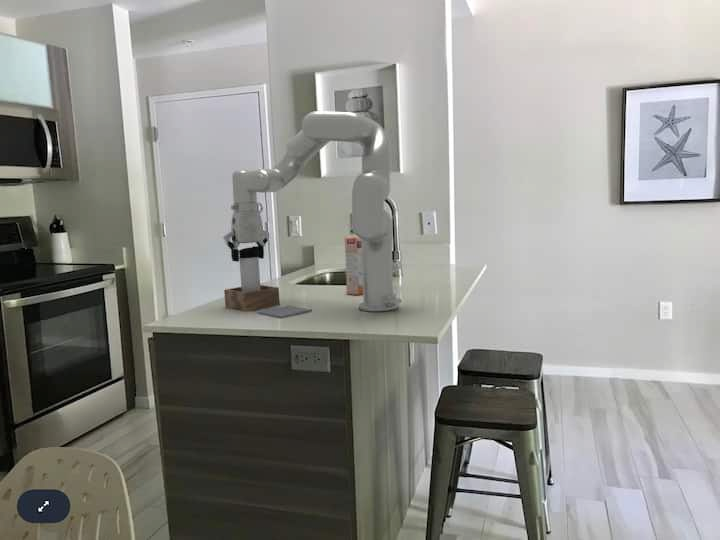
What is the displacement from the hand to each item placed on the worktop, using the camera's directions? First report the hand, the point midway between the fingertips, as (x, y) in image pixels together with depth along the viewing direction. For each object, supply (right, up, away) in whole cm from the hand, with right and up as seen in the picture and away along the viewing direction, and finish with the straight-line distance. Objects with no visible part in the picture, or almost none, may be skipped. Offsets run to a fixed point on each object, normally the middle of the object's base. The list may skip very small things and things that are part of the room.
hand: (248, 259), depth 193 cm
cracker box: (+39, -12, +20) cm, 45 cm away
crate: (+1, -16, +2) cm, 16 cm away
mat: (+14, -17, -11) cm, 24 cm away
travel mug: (+1, -16, +2) cm, 16 cm away
